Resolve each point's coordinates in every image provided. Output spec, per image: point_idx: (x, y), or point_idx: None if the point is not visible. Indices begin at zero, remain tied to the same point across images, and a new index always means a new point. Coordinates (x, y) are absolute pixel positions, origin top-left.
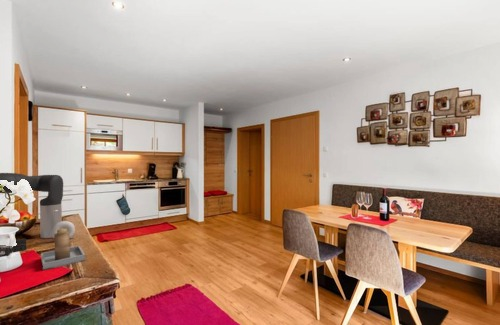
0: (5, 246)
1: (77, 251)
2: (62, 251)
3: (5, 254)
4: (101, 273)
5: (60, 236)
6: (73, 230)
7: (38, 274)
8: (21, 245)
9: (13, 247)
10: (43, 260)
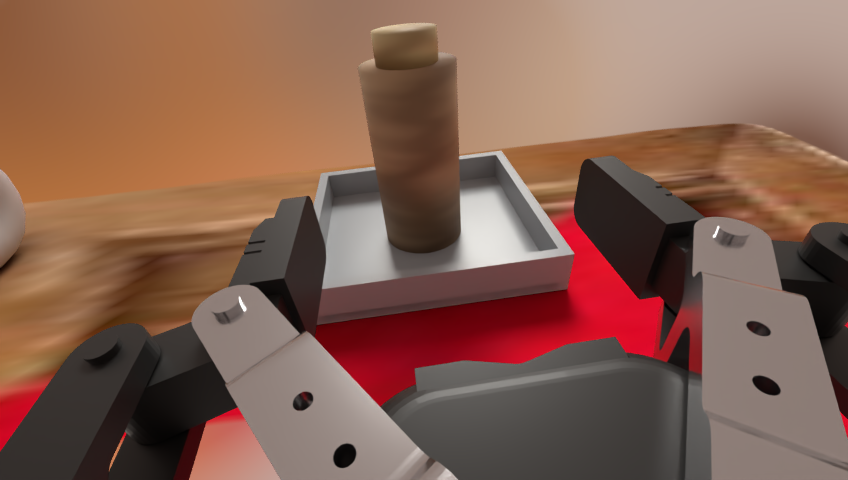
0: (719, 283)
1: (349, 197)
2: (459, 178)
3: (837, 328)
4: (681, 143)
5: (456, 72)
6: (10, 182)
7: (633, 300)
8: (632, 175)
9: (683, 229)
10: (498, 260)
